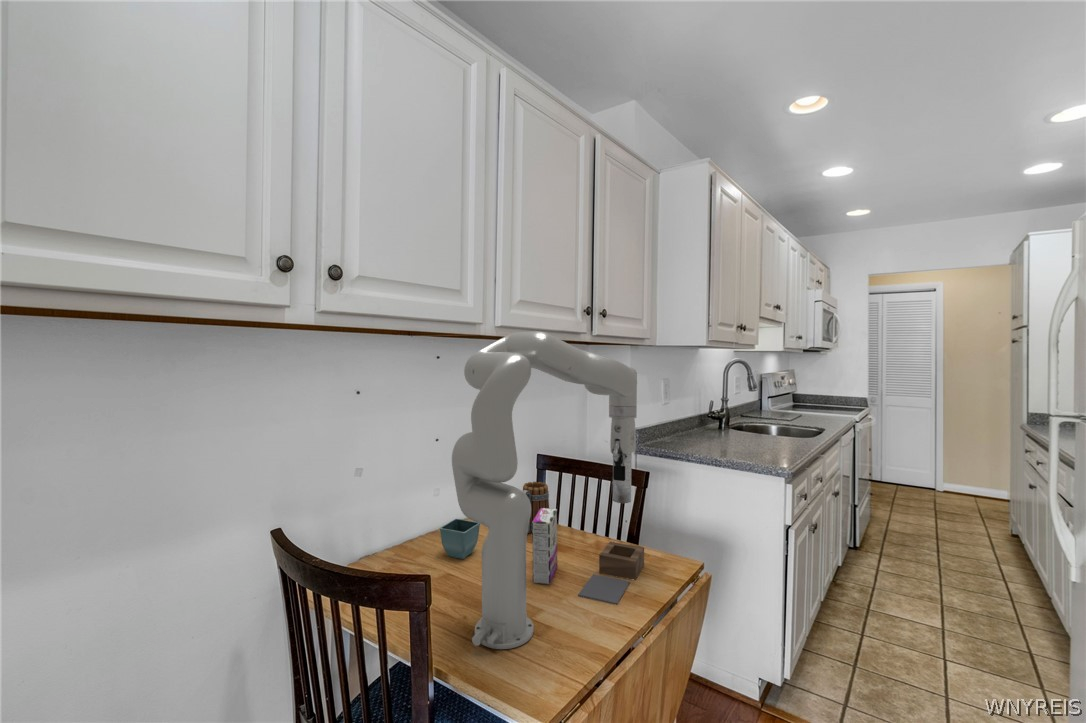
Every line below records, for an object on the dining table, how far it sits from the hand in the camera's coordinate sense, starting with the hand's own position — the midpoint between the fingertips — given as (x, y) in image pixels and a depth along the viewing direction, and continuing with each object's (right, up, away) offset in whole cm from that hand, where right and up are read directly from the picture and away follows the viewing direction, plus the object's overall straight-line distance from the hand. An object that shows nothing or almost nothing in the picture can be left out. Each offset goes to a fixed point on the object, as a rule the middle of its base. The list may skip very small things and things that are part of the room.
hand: (622, 477), depth 133 cm
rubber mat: (-6, -26, -11) cm, 29 cm away
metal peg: (0, -7, 0) cm, 7 cm away
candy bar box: (-21, -26, -3) cm, 34 cm away
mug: (-25, -25, +29) cm, 46 cm away
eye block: (0, -26, +1) cm, 26 cm away
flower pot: (-46, -26, +10) cm, 54 cm away
